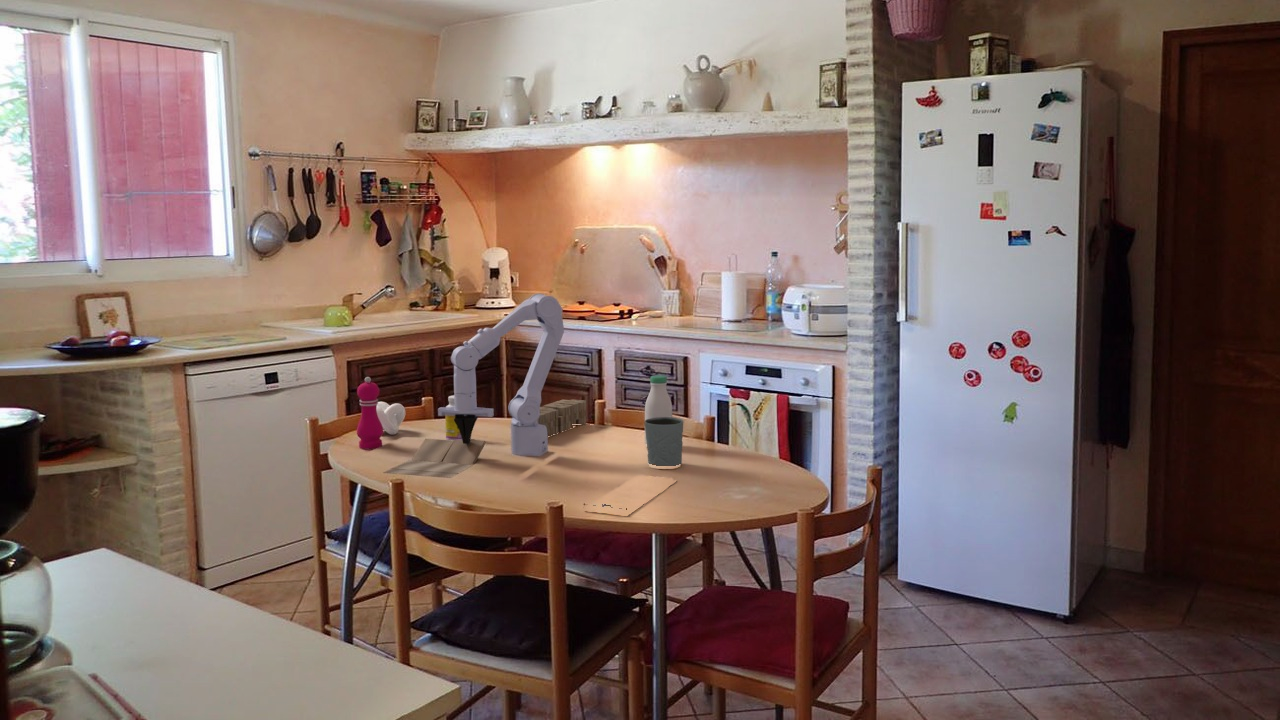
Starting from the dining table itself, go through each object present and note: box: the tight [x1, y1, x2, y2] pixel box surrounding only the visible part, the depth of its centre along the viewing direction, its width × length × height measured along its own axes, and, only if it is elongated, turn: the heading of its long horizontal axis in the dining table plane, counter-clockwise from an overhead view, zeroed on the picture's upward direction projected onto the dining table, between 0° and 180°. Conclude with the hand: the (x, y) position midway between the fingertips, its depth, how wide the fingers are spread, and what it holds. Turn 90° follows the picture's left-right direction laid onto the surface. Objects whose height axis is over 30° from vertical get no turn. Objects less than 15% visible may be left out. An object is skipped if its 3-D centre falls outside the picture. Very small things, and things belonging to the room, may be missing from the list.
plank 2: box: [441, 439, 486, 465], centre depth 271 cm, size 8×9×1 cm
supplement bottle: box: [444, 394, 462, 441], centre depth 296 cm, size 7×7×13 cm
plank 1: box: [411, 438, 454, 463], centre depth 273 cm, size 8×9×1 cm
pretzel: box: [376, 401, 406, 436], centre depth 307 cm, size 11×12×9 cm
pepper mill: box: [356, 376, 384, 450], centre depth 288 cm, size 7×7×20 cm
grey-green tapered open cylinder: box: [644, 416, 684, 466], centre depth 267 cm, size 10×10×12 cm
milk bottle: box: [644, 374, 673, 445], centre depth 287 cm, size 8×8×20 cm
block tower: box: [538, 398, 587, 436], centre depth 307 cm, size 8×8×29 cm
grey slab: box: [383, 459, 474, 479], centre depth 262 cm, size 18×13×1 cm
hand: (466, 442), depth 272 cm, fingers closed
